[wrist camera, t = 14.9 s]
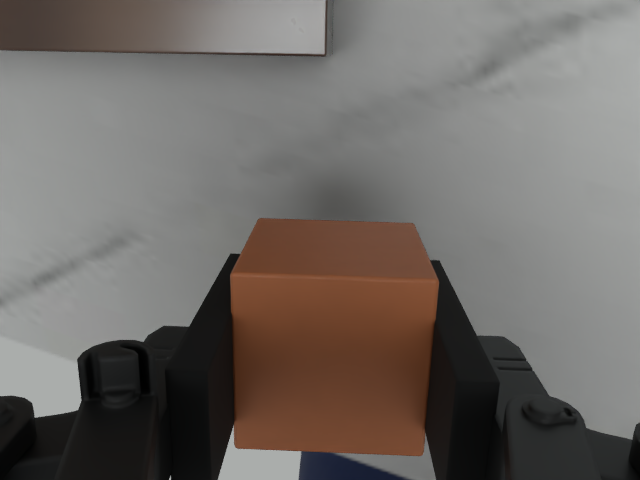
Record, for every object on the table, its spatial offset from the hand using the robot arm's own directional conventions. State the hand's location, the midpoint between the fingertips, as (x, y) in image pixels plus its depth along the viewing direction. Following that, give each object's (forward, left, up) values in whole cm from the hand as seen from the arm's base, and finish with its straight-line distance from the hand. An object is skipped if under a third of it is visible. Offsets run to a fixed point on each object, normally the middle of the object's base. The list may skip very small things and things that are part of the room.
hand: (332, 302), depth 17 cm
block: (0, 0, 0) cm, 0 cm away
